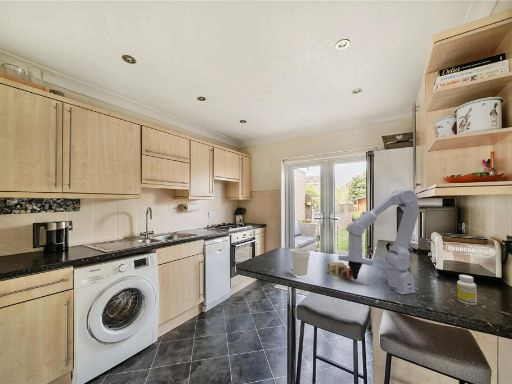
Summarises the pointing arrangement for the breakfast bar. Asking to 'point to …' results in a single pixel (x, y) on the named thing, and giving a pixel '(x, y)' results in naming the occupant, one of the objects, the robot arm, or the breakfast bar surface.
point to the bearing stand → (331, 270)
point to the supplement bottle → (466, 290)
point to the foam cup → (300, 261)
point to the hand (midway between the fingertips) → (355, 278)
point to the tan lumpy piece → (338, 268)
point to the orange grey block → (347, 272)
